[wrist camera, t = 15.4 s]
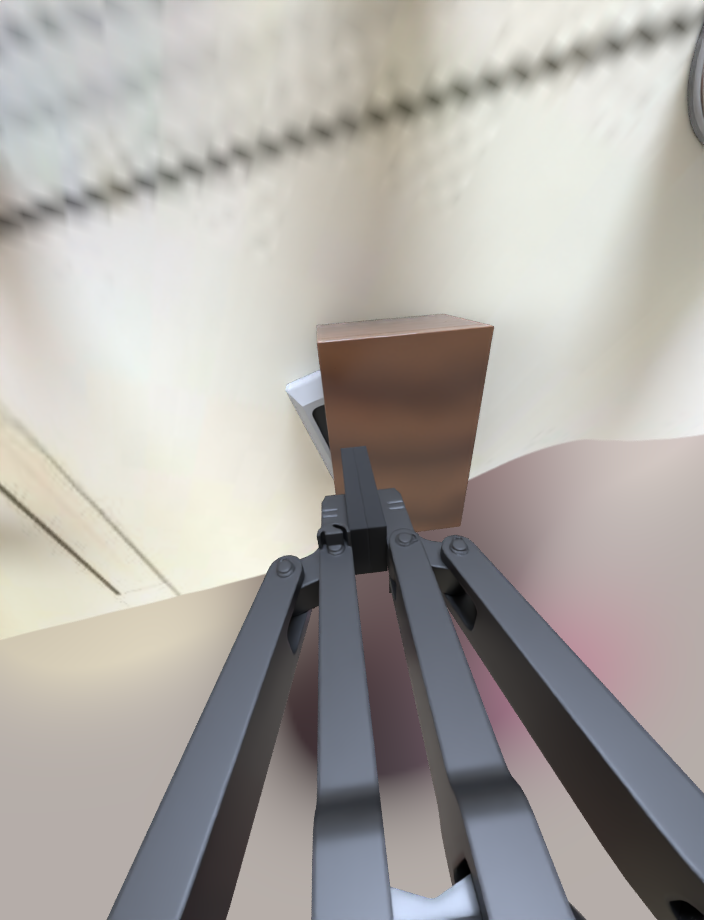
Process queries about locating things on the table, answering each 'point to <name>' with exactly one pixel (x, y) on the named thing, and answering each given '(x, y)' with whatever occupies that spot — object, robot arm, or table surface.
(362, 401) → the desk riser
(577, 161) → the table surface
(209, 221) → the table surface
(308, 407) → the grey box with recess
